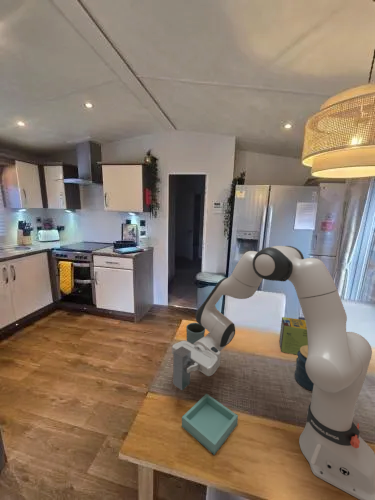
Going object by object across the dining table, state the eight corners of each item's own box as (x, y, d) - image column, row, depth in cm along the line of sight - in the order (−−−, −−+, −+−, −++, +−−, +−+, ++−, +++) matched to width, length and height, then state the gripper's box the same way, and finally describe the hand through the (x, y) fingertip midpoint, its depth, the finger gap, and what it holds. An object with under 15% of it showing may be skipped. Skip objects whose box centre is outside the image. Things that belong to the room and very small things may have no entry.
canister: (293, 385, 102) (298, 349, 99) (295, 367, 113) (299, 334, 110) (327, 397, 96) (334, 359, 93) (326, 377, 107) (331, 342, 104)
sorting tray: (237, 424, 83) (238, 415, 83) (214, 455, 73) (214, 444, 72) (206, 402, 92) (206, 393, 92) (181, 426, 82) (181, 416, 81)
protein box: (312, 357, 121) (316, 330, 118) (280, 352, 125) (283, 325, 122) (308, 346, 131) (311, 320, 128) (278, 341, 135) (281, 316, 132)
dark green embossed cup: (187, 341, 133) (187, 321, 130) (205, 343, 131) (205, 323, 129) (184, 352, 123) (185, 331, 120) (203, 354, 121) (204, 333, 119)
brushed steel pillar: (190, 383, 90) (190, 351, 87) (181, 390, 87) (182, 357, 84) (181, 377, 93) (182, 346, 90) (173, 384, 90) (173, 351, 87)
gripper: (185, 333, 104) (161, 347, 94) (223, 354, 91) (201, 372, 81) (184, 346, 105) (161, 361, 95) (223, 368, 92) (201, 388, 82)
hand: (180, 366), depth 88 cm, fingers closed on brushed steel pillar, 5 cm apart
